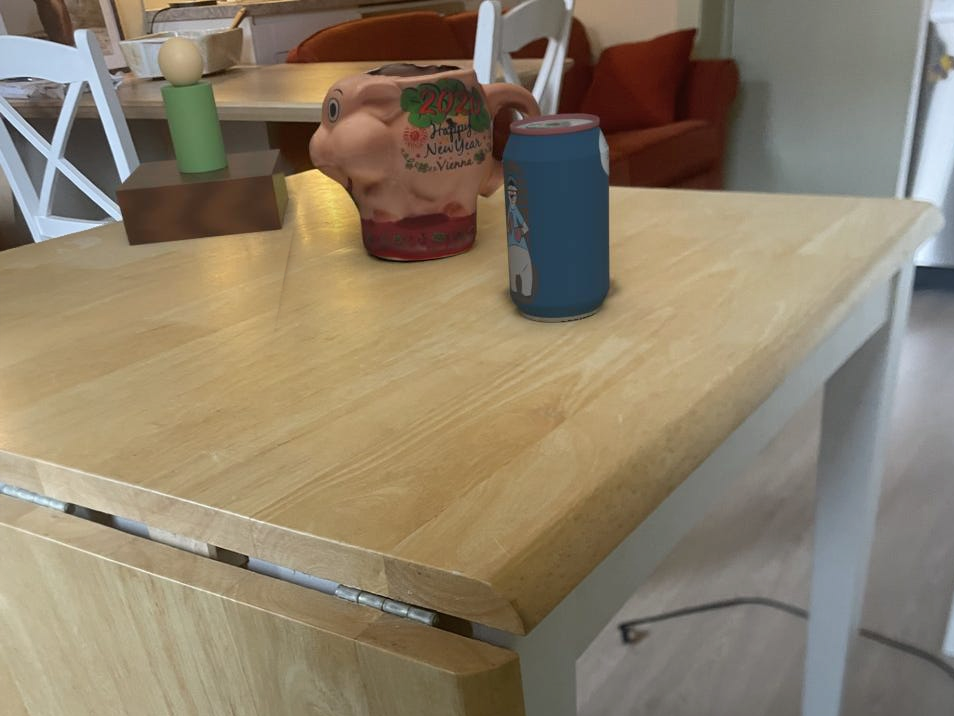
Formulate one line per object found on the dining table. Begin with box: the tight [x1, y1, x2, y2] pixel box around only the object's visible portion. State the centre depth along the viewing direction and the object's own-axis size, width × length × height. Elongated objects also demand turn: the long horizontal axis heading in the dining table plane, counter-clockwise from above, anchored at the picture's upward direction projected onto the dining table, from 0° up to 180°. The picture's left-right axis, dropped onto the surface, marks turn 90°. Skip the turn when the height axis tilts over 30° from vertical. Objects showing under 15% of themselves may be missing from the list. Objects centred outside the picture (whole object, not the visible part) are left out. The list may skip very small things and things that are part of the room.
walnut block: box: [114, 148, 289, 247], centre depth 98 cm, size 14×14×6 cm
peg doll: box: [157, 36, 228, 173], centre depth 93 cm, size 5×5×11 cm
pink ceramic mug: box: [308, 61, 542, 261], centre depth 85 cm, size 20×12×14 cm, turn 113°
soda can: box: [502, 113, 611, 323], centre depth 68 cm, size 7×7×12 cm
